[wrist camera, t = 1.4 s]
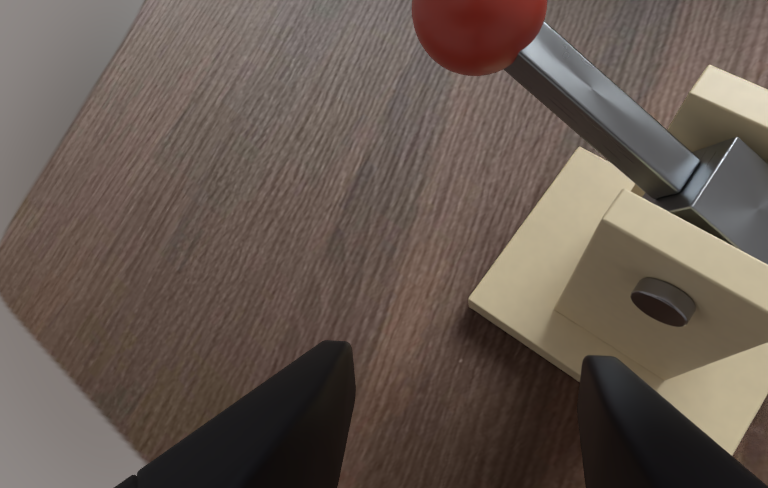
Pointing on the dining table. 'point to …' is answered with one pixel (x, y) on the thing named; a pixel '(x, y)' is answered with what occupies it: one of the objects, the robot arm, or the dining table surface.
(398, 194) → the dining table surface
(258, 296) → the dining table surface
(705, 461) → the robot arm
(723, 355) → the red knob lever base
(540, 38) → the red knob lever
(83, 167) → the dining table surface
